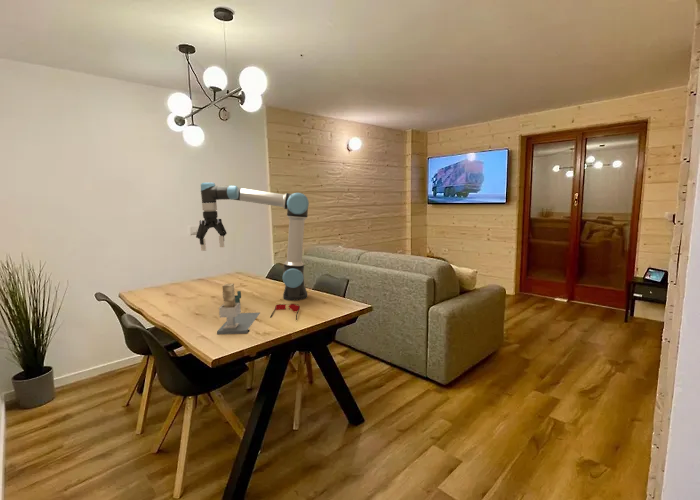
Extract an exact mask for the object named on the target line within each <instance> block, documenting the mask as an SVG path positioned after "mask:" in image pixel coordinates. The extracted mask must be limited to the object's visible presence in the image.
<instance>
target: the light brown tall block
mask: <svg viewBox="0 0 700 500" xmlns="http://www.w3.org/2000/svg"><path fill="white" fill-rule="evenodd" d="M221 288H222V298H223V304H224V307H235V306H236V305H235V295H236V294H235V283H224V284H222V287H221Z"/></svg>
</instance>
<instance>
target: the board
mask: <svg viewBox="0 0 700 500" xmlns="http://www.w3.org/2000/svg"><path fill="white" fill-rule="evenodd" d="M260 314H261V312H240V313H239V314H238V316H237V317H235V323H240V324H239V326H238V327H237V328H236V329H223V327H224V326H225V325H226V324H227V320H226V321H225V322H224V323H223V324H222V326H221V327H219V328H218V330H216V335H237V334H249V332H250V331H251V329H249V328H250V327H252V325H253V323H254V322H255V321H256V320H257V318H258V317H259V315H260Z"/></svg>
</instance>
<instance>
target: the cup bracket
mask: <svg viewBox="0 0 700 500" xmlns="http://www.w3.org/2000/svg"><path fill="white" fill-rule="evenodd" d="M235 305H236V306H235V307H224V303H223V304H222V305H220V306H219V308H218V311H219V313H218V314H219V318H226V321H227V324H226V325H225V326H224V327H223V329H236V328H237V327H238V326H239V324H240V323H235V317H237V316H238V314H239V313H242V311H241V302H240V303H235Z"/></svg>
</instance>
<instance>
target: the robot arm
mask: <svg viewBox="0 0 700 500" xmlns="http://www.w3.org/2000/svg"><path fill="white" fill-rule="evenodd" d="M200 195H201V196H200V197H201V208H202V218H203V220H202V219H201V220H199V225H198V228H197V231H196V235H195V238H197V239H199V244H200V249H201V251H202V252H203V251H207V246H206V238H205V236H206V235H207V233H208V230H210V229H212V228H213V229H215V231H216V232H217V234H218V235H219V236H218V241H219V247H220V248H225V236H226V235H227V234H228V232H227V229H225V226H224V225H223V221H222V218H218V217H219V216H218V211H217V210H218V205H217V200H218V201H219V200H220V201H221V200H230V201H231V200H233V201H240V202H246V203H247V202H248V203H252V204H253V203H254V204H259V205H265V206H266V205H267V206H272V207H273V206H274V207H282V208H283V209H284V210H287V211H286V217H287V218H288V219H289V221H288V237H287V253H286V254H287V255H286V260H285V261H284V263H283V273H282V277H281V278H282V281H283V283H284V285H285V286H284V290H283V294H282V298H283V300H285V301H292V302H293V301H301V300H305V299H307V298H308V291H307V289H306V287H305V274H304V272H305V270H304V269H305V263H304V262H303V249H304V236H305V235H304V233H305V221H306V219H308V212H309V205H310V202H309V199H308V197H307V196H306V195H305V194H304V193H302V192H294V193H287V192H286V193H277V192H272V191H271V192H269V191H264V190H257V189H251V188H245V187H244V188H243V187H238V186H237V185H216V184H215V182H211V181H210V182H208V181H207V182H201V183H200Z"/></svg>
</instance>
